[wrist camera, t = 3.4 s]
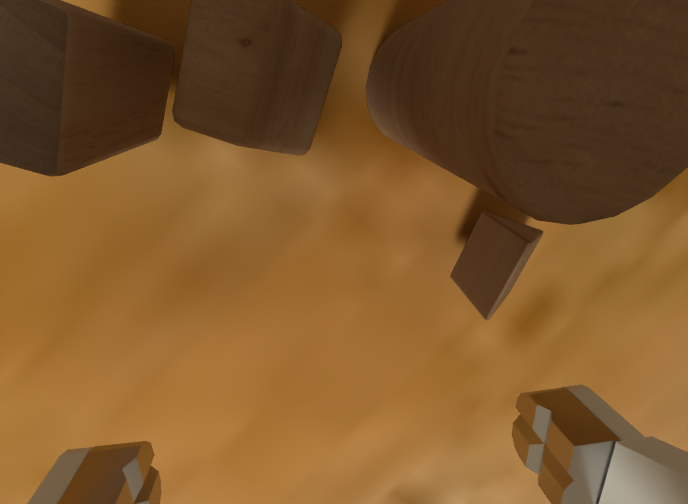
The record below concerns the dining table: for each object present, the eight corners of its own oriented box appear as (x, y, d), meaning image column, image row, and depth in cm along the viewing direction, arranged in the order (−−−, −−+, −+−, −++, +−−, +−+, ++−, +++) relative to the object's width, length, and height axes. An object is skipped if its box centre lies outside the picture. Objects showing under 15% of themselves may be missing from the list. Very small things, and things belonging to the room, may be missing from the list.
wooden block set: (81, 155, 14) (-335, 289, 5) (109, -128, 11) (-844, -1218, 2) (489, 274, 18) (689, 470, 9) (587, 92, 15) (1040, 102, 6)
